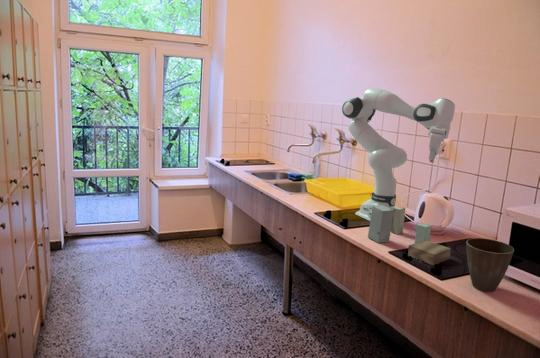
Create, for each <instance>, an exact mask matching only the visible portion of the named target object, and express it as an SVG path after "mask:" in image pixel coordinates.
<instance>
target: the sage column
mask: <svg viewBox="0 0 540 358" xmlns="http://www.w3.org/2000/svg"><path fill="white" fill-rule="evenodd" d="M415 227H416V228H415V235H414V236H415V237H414V243H417V242H420V241H423V240H427V241H430V239H431V233H432V232H431V230H432V225H430V224H427V223H423V222H420V223H418V224H416V226H415Z"/></svg>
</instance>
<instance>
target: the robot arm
mask: <svg viewBox="0 0 540 358" xmlns="http://www.w3.org/2000/svg"><path fill="white" fill-rule="evenodd" d="M362 95H363V96H362V97H359V96H356V97H353V98H350V99H347V100H346V101H344V103H343V104H342V107H341V110H342V114H343V115H344V117H346V118H347V119H351V121H350V123H349V124H348V130H349V131H348V132H350V134H351V136H352V137H353V138H354V140H355V141H356V142H357V143H358V144H359V145H360V146H361V147H362V148H363V150H365V151H366V152H368V153H369V154H368V158H367V161H368V165H369V166H370V167H371V169H372V170H373V174H374V191H373V192H371V193H370V194H369V196H371V197H370V199H368V200H366V201H364V202H363V203H362V204H361V205H360V208H359V210H358V211H356V212H355V215H356V216H358V217H360V218H363V219H365V220H367V221H369V222H370V219H371V213H372V206H379V205H383V206H385V207H388V208H390V209H392V210H393V208H394V207H396V202H397V194H396V192H397V179H396V178H395V176H394V174H393V173H394V171H393V169H394V168H399V167H401V166H403V165H404V164H405V163H406V162H407V160H408V154H407V152H406V151H405V149H403V148H402V147H401V148H400V147H399V146H396V145H395V144H393V143H392V142H390V141H389V140H387V139H385V138H384V137H383V136H382V135H381V134H379V133H378V132H377V130H376V129H374V128H373V126H372V125H370V122H371V121H372V118H373V117H374V116H375V115H376V111H378V112H382V113H385V114H390V115H396V116H400V117H405V118H407V119H410V120H413V121H415V122H417V123H419V124H420V125H421V126H423V127H424V128H426V129H427V130H428V133H427V135H428V136H430V137H429V142H428V148H429V156H428V160H429V163H431V164H433V163H435V159H436V156H438V155H439V153H440V149H441V145H442V142H444V141H445V140H446V139H448V137H449V134H450V129H451V123H452V121H453V120H454V115H455V110H456V104H455V103H454V102H453V101H452V100H450V99H448V98H445V97H444V98H443V97H442V98H438V99H437V100H435V101H432V102H427V103H421V104H418V105H417V106H416V107H415V106H413V105H411V104H409V103H407V102H405V100H404V99H402V98H401V97H399V96H398V95H396V94H395V93H393V92H391V91H388V90H386V89H382V88H381V89H380V88H375V87H373V88H372V87H371V88H370V87H369V88H368V89H365V90H364V93H363V94H362Z"/></svg>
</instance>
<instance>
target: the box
mask: <svg viewBox="0 0 540 358" xmlns="http://www.w3.org/2000/svg"><path fill="white" fill-rule="evenodd" d="M393 210H394V213H393V219H392V226H391V232H390V233H392V234H396V235H400V234H402V233H403V232H404V223H405V216H406V207H403V206H399V205H395V207H394V208H393Z"/></svg>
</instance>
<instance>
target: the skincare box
mask: <svg viewBox="0 0 540 358" xmlns="http://www.w3.org/2000/svg"><path fill="white" fill-rule="evenodd" d="M393 213H394V210H392V209H390V208H388V207H385V206H383V205H379V206H372V213H371V219H370V221H369V226H368V233H367V237H368V238H369V239H370V240H372V241H374V242H376V243H377V244H382V243H389V242H390V239H391V238H390V237H391V233H392V232H391V226H392V219H393Z"/></svg>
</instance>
